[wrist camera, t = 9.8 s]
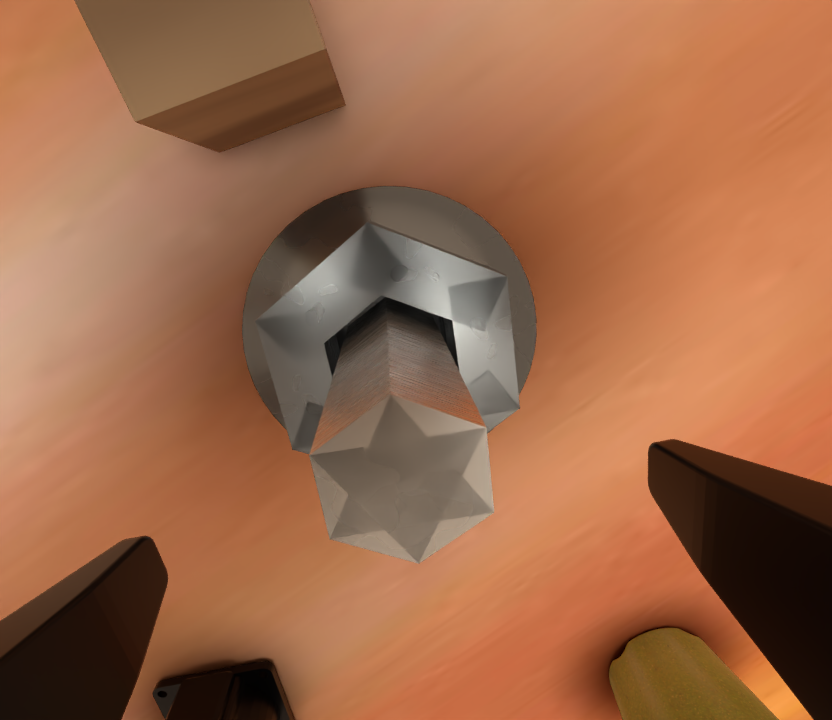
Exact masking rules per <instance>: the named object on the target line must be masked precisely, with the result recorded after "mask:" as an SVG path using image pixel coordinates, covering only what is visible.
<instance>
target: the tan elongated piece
mask: <svg viewBox="0 0 832 720" xmlns="http://www.w3.org/2000/svg"><path fill="white" fill-rule="evenodd" d="M309 456H310V461H311V465H312V469H313V473H314V477H315V481H316V485H317V489H318V493H319V497H320V501H321V505H322V510H323V514H324V518H325V522H326V526H327V530H328V534H329V538H330V539H331V540H335V541H339V542H342V543H346V544H349V545H353V546H357V547H360V548H364V549H368V550H371V551H375V552H378V553H382V554H386V555H389V556H393V557H397V558H400V559H404V560H408V561H411V562H415V563H418V564H419V563H420V562H422V561H423V560H425V559H426V558H428V557H429V556H431V555H432V554H434V553H435V552H437V551H438V550H440V549H441V548H443V547H444V546H446V545H447V544H448V543H450V542H451V541H453V540H454V539H456V538H457V537H459V536H460V535H462V534H463V533H465V532H466V531H468V530H469V529H471V528H472V527H474V526H475V525H477V524H478V523H480V522H481V521H482V520H484V519H485V518H487V517H488V516H490V515H491V514H493V513H494V504H493V493H492V482H491V472H490V461H489V450H488V439H487V429H486V426H485V424H484V422H483V420H482V417H481V415H480V413H479V411H478V409H477V407H476V405H475V403H474V401H473V399H472V397H471V395H470V393H469V391H468V388H467V386H466V384H465V382H464V380H463V378H462V376H461V374H460V372H459V370H458V368H457V366H456V364H455V361H454V359H453V357H452V355H451V353H450V351H449V349H448V347H447V345H446V343H445V341H444V339H443V337H442V334H441V332H440V330H439V328H438V326H437V324H436V322H435V320H434V318H433V316H432V314H431V313H428V312H426V311H423V310H421V309H418V308H416V307H413V306H410V305H407V304H404V303H402V302H399V301H396V300H393V299H391V298H388V297H384V298H383V299H382V300H380V301H379V302H378V303H377V304H375V305H374V306H373V307H372V308H370V309H369V310H368V311H367V312H365V313H364V314H363V315H361V316H360V317H359V318H358V319H356V320H355V321H354V322H353V323H351V324H350V325H349V326H348V328H347V331H346V335H345V338H344V341H343V345H342V348H341V351H340V355H339V358H338V361H337V365H336V368H335V371H334V375H333V378H332V381H331V385H330V388H329V391H328V395H327V398H326V401H325V405H324V408H323V411H322V415H321V418H320V421H319V425H318V428H317V431H316V435H315V438H314V441H313V444H312V448H311V451H310V454H309Z"/></svg>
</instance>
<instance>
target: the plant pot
mask: <svg viewBox="0 0 832 720" xmlns="http://www.w3.org/2000/svg"><path fill="white" fill-rule="evenodd" d="M609 680H610V685H611V687H612V690H613V693H614V696H615V699H616V702H617V705H618V708H619V711H620V714H621V716H622V719H623V720H779V719H778V718H777V717H776V716H775V715H774V714H773V713H772V712H771V711H770V710H769V709H768V708H767V707H766V706H765V705H764V704H763V703H762V702H761V701H760V700H759V699H758V698H757V697H756V696H755V695H754V693H753V692H752V691H751V690H750V689H749V688H748V687H747V686H746V685H745V684H744V683H743V682H742V681H741V680H740V679H739V678H738V677H737V676H736V675H735V674H734V673H733V672H732V671H731V670H730V669H729V667H728V666H727V665H726V664H725V663H724V662H723V661H722V660H721V659H720V658H719V657H718V656H717V655H716V654H715V653H714V652H713V651H712V650H711V649H710V648H709V647H708V646H707V644H706V643H705V642H704V641H703V640H702V639H701V638H699V637H698V636H694V635H691V634H689V633H687V632H685V631H683V630H681V629H678V628H661V629H656V630H652V631H649V632H646V633H644V634H641V635H639V636H637V637H635V638H634V639H632V640H631V641H629V642H628V643H627V645H626V648H625V650H624V652H623V653H622V655H621V656H620V657H619V658H618V659H616V660H613V661H612V663H611V666H610V670H609Z"/></svg>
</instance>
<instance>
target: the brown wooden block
mask: <svg viewBox="0 0 832 720" xmlns="http://www.w3.org/2000/svg"><path fill="white" fill-rule="evenodd" d="M75 2H76V4H77V6H78V8H79V11H80V13H81V15H82V17H83V19H84V21H85V23H86V25H87V27H88V29H89V31H90V33H91V35H92V37H93V39H94V41H95V43H96V45H97V47H98V49H99V51H100V53H101V55H102V57H103V59H104V61H105V63H106V65H107V67H108V69H109V71H110V73H111V75H112V77H113V79H114V81H115V83H116V85H117V87H118V89H119V91H120V93H121V95H122V97H123V99H124V101H125V103H126V105H127V107H128V109H129V111H130V113H131V115H132V117H133V119H134V121H135V122H137V123H140V124H142V125H145V126H148V127H151V128H153V129H156V130H159V131H162V132H164V133H167V134H170V135H173V136H175V137H178V138H181V139H184V140H186V141H189V142H192V143H195V144H197V145H200V146H203V147H206V148H209V149H211V150H214V151H217V152H223V151H225V150H228V149H231V148H233V147H236V146H239V145H241V144H244V143H246V142H249V141H252V140H254V139H257V138H260V137H262V136H265V135H268V134H270V133H273V132H276V131H278V130H281V129H283V128H286V127H289V126H291V125H294V124H297V123H299V122H302V121H305V120H307V119H310V118H313V117H315V116H318V115H320V114H323V113H326V112H328V111H331V110H334V109H336V108H339V107H342V106H344V105H346V104H345V102H344V99H343V96H342V93H341V90H340V87H339V84H338V81H337V79H336V76H335V73H334V70H333V67H332V64H331V61H330V58H329V56H328V53H327V50H326V47H325V44H324V41H323V38H322V36H321V33H320V30H319V27H318V24H317V21H316V18H315V16H314V13H313V10H312V7H311V4H310V1H309V0H75Z"/></svg>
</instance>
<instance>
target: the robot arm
mask: <svg viewBox="0 0 832 720" xmlns="http://www.w3.org/2000/svg"><path fill="white" fill-rule="evenodd" d="M648 486H649V489H650V492H651V494H652V496H653V498H654V500H655V501H656V503H657V504H658V506H659V508H660V509H661V511H662V512H663V514H664V516H665V517H666V519H667V520H668V522H669V524H670V525H671V527H672V528H673V530H674V532H675V533H676V535H677V536H678V538H679V540H680V541H681V543H682V544H683V546H684V548H685V549H686V551H687V552H688V554H689V556H690V557H691V559H692V560H693V562H694V563H695V565H696V566H697V568H698V569H699V571H700V572H701V574H702V575H703V576H704V578H705V579H706V580H707V582H708V583H709V584H710V586H711V587H712V588H713V590H714V591H715V592H716V594H717V595H718V596H719V597H720V599H721V600H722V601H723V603H724V604H725V605H726V607H727V608H728V609H729V610H730V612H731V613H732V614H733V616H734V617H735V618H736V620H737V621H738V622H739V623H740V625H741V626H742V627H743V629H744V630H745V631H746V632H747V634H748V635H749V636H750V638H751V639H752V640H753V642H754V643H755V644H756V645H757V647H758V648H759V649H760V651H761V652H762V653H763V655H764V656H765V657H766V658H767V660H768V661H769V662H770V664H771V665H772V666H773V668H774V669H775V670H776V671H777V673H778V674H779V675H780V677H781V678H782V679H783V680H784V682H785V683H786V684H787V686H788V687H789V688H790V690H791V691H792V692H793V693H794V695H795V696H796V697H797V699H798V700H799V701H800V703H801V704H802V705H803V706H804V708H805V709H806V710H807V712H808V713H809V714H810V716H811V717H812V718H813V719H814V720H832V486H830V485H827V484H824V483H820V482H817V481H813V480H810V479H807V478H803V477H800V476H797V475H793V474H790V473H787V472H783V471H780V470H777V469H773V468H770V467H766V466H763V465H760V464H756V463H753V462H750V461H746V460H743V459H740V458H736V457H733V456H730V455H726V454H723V453H719V452H716V451H713V450H709V449H706V448H703V447H699V446H696V445H693V444H689V443H686V442H683V441H679V440H675V439H670V440H665V441H660V442H654V443H652V444H651V445H650V446H649V450H648ZM167 583H168V574H167V570H166V567H165V565H164V563H163V561H162V558H161V556H160V554H159V552H158V549H157V547H156V545H155V543H154V541H153V539H152V538H150V537H148V536H140V537H135V538H129V539H125V540H122V541H120V542H119V543H117V544H116V545H114V546H113V547H111V548H110V549H108V550H107V551H105V552H104V553H102V554H101V555H99V556H98V557H96V558H95V559H93V560H92V561H90V562H89V563H87V564H86V565H84V566H83V567H81V568H80V569H78V570H77V571H75V572H74V573H72V574H70V575H69V576H67V577H66V578H64V579H63V580H61V581H60V582H58V583H57V584H55V585H54V586H52V587H51V588H49V589H48V590H46V591H45V592H43V593H42V594H40V595H39V596H37V597H36V598H34V599H33V600H31V601H30V602H28V603H27V604H25V605H24V606H22V607H21V608H19V609H18V610H16V611H15V612H13V613H12V614H10V615H9V616H7V617H6V618H4V619H2V620H1V621H0V720H121V719H122V717H123V714H124V712H125V709H126V707H127V704H128V702H129V699H130V697H131V695H132V692H133V689H134V687H135V684H136V682H137V679H138V676H139V673H140V670H141V668H142V665H143V662H144V659H145V655H146V652H147V649H148V646H149V643H150V639H151V636H152V633H153V630H154V626H155V623H156V620H157V617H158V614H159V610H160V607H161V604H162V601H163V598H164V594H165V591H166V588H167ZM153 697H154V699H155V701H156V703H157V704H158V706H159V708H160V710H161V712H162V714H163V716H164V718H165V720H294V718H293V715H292V713H291V710H290V707H289V705H288V702H287V699H286V697H285V694H284V691H283V689H282V686H281V683H280V681H279V678H278V675H277V673H276V670H275V667H274V665H273V664H272V663H270V662H267V661H262V662H257V663H252V664H246V665H241V666H236V667H230V668H225V669H220V670H215V671H209V672H204V673H199V674H193V675H188V676H183V677H177V678H172V679H167V680H162V681H159V682H158V683H157V685H156V687H155V689H154V691H153Z"/></svg>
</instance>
